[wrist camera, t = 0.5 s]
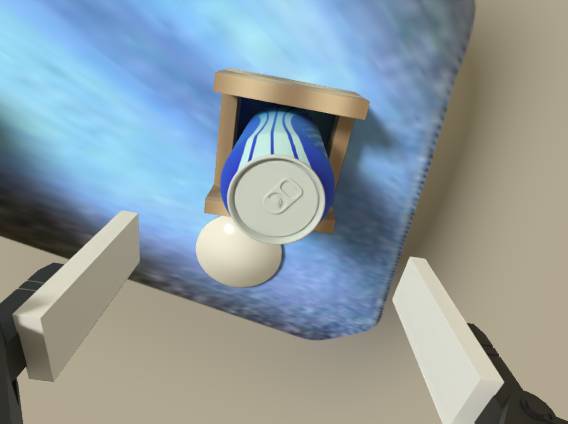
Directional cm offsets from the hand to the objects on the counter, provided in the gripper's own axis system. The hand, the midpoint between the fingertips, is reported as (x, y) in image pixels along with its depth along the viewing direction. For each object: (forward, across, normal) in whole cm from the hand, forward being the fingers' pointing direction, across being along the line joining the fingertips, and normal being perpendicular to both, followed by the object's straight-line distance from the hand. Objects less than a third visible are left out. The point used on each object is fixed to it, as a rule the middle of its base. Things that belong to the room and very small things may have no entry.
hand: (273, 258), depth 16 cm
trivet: (+22, -3, -15) cm, 27 cm away
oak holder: (+22, 0, 0) cm, 22 cm away
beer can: (+23, 0, 0) cm, 23 cm away
